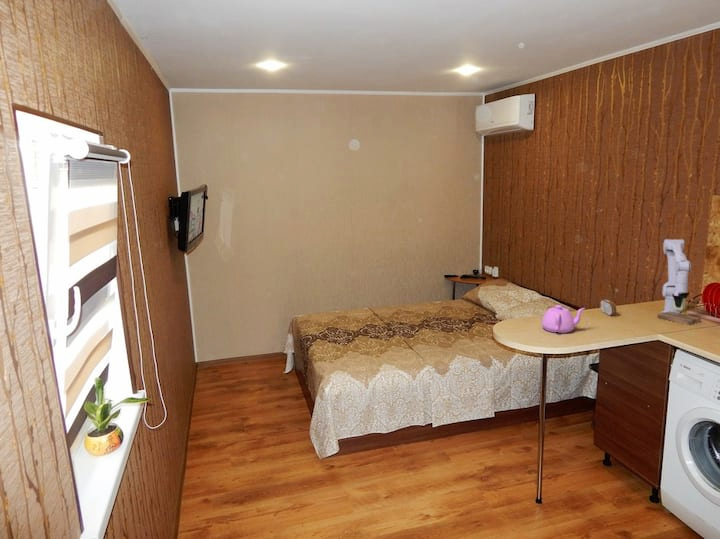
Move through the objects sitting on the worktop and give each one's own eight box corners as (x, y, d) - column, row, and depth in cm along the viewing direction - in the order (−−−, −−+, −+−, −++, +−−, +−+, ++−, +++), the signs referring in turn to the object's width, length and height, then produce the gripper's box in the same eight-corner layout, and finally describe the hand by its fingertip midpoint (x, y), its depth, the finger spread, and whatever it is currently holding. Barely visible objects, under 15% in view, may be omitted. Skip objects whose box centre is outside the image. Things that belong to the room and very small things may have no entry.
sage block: (675, 307, 271) (676, 297, 270) (685, 308, 267) (685, 298, 266) (673, 308, 268) (673, 298, 267) (682, 310, 264) (682, 299, 263)
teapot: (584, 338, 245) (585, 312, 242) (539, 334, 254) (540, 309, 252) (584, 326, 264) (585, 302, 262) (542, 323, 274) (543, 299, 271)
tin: (616, 317, 279) (617, 303, 278) (611, 317, 279) (611, 303, 278) (604, 310, 294) (604, 297, 292) (599, 310, 294) (599, 297, 292)
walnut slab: (669, 316, 278) (669, 311, 278) (700, 323, 263) (700, 318, 263) (657, 319, 274) (657, 314, 273) (688, 326, 259) (688, 321, 258)
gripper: (678, 279, 272) (676, 302, 275) (668, 283, 263) (666, 307, 266) (692, 281, 267) (690, 304, 269) (683, 285, 258) (681, 309, 260)
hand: (679, 306), depth 267 cm, fingers closed on sage block, 4 cm apart
